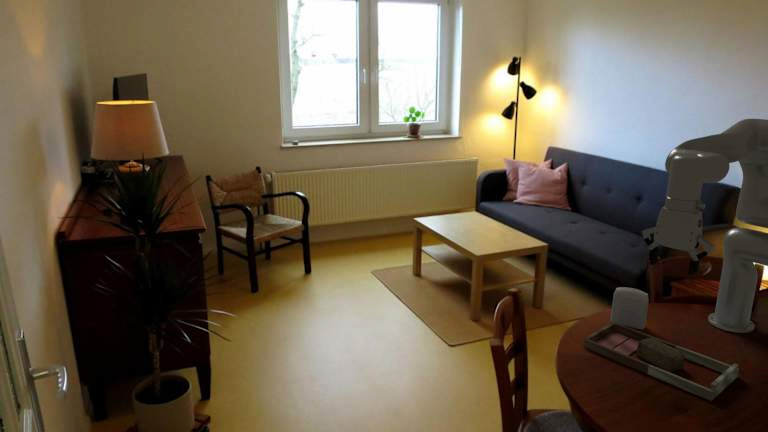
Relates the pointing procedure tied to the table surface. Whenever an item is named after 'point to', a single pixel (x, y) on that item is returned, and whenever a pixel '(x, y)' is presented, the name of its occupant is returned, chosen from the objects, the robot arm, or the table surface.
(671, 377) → the frame
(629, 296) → the photo printer
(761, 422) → the table surface
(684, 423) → the table surface
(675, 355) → the stone block
